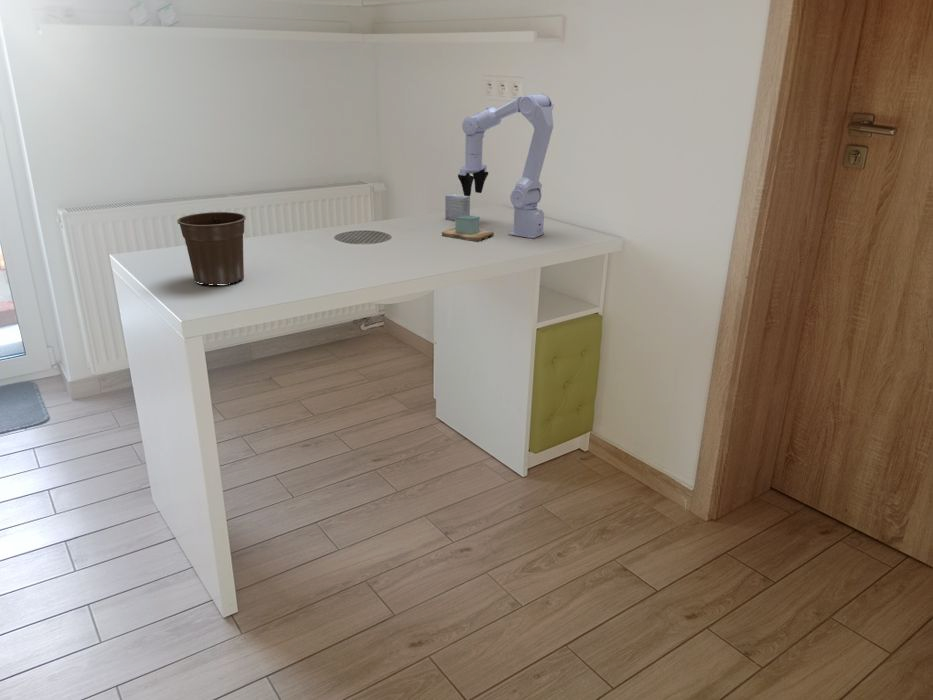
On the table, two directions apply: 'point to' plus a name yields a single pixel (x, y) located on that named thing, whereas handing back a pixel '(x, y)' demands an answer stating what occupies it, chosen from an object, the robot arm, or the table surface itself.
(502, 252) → the table surface
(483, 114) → the robot arm
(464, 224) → the pale teal rectangular block
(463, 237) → the thin wooden board
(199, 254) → the plant pot
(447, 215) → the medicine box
